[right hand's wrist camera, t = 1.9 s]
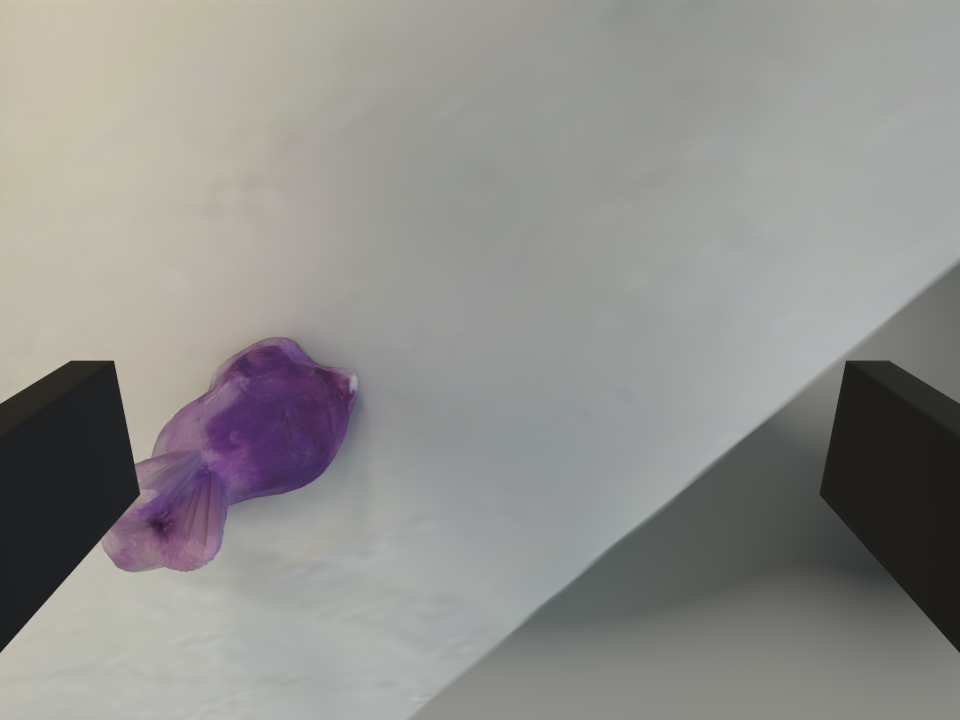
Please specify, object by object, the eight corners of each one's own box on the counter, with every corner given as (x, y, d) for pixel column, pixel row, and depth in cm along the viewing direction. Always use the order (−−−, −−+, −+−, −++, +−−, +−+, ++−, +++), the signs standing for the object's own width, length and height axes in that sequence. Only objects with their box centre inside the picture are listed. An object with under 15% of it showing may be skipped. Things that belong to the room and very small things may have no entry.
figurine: (176, 457, 42) (23, 630, 28) (213, 308, 39) (62, 418, 25) (322, 503, 43) (247, 692, 29) (371, 363, 40) (313, 497, 26)
